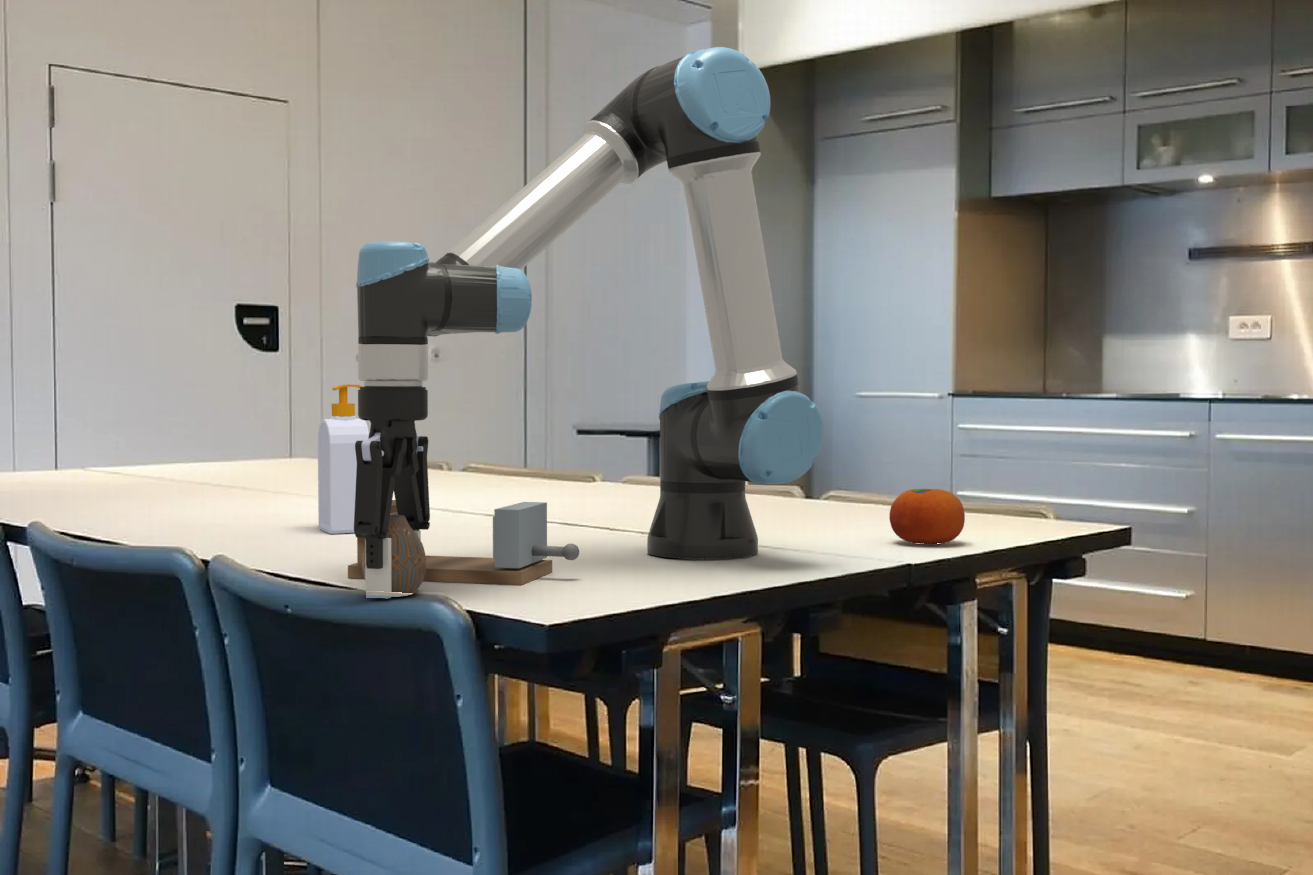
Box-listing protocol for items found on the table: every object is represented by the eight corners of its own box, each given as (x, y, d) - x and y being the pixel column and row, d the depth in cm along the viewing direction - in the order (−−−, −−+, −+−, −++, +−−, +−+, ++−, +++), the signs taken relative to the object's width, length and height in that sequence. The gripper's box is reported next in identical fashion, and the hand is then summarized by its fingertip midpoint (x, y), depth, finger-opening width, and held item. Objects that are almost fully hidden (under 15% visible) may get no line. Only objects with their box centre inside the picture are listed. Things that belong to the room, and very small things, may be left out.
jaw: (591, 559, 167) (591, 503, 167) (565, 570, 158) (565, 511, 157) (519, 556, 170) (519, 501, 169) (489, 567, 160) (489, 509, 160)
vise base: (552, 572, 169) (552, 503, 169) (521, 585, 158) (521, 511, 158) (388, 565, 175) (387, 499, 174) (347, 577, 164) (347, 507, 164)
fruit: (940, 539, 205) (941, 485, 205) (977, 547, 195) (978, 491, 195) (876, 541, 202) (877, 487, 202) (911, 549, 192) (911, 493, 192)
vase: (366, 590, 154) (366, 513, 154) (428, 590, 155) (428, 512, 154) (358, 600, 147) (357, 519, 147) (423, 599, 148) (423, 518, 148)
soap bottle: (375, 532, 212) (374, 384, 211) (330, 534, 209) (329, 384, 208) (361, 527, 220) (360, 384, 219) (318, 529, 217) (316, 384, 216)
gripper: (400, 384, 161) (400, 579, 162) (317, 384, 141) (319, 605, 142) (460, 384, 159) (460, 581, 160) (384, 384, 140) (385, 609, 141)
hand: (393, 592), depth 151 cm, fingers closed on vase, 7 cm apart
